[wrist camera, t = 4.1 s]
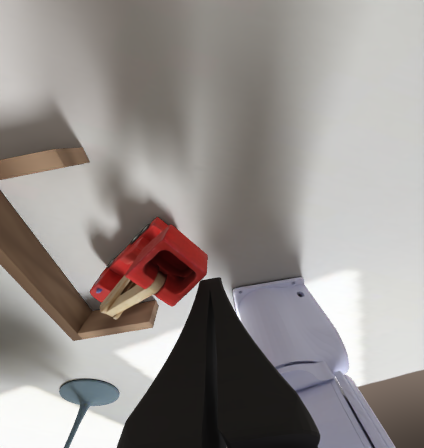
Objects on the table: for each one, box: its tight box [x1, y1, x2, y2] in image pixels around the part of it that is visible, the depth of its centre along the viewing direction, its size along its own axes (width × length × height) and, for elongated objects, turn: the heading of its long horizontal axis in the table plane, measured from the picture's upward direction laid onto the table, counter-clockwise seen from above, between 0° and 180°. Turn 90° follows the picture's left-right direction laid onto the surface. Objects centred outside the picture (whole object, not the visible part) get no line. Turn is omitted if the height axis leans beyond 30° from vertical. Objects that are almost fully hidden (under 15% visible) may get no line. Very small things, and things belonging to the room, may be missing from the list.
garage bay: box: [0, 148, 158, 341], centre depth 18 cm, size 10×20×3 cm, turn 10°
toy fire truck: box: [90, 217, 208, 319], centre depth 14 cm, size 3×14×10 cm, turn 133°
